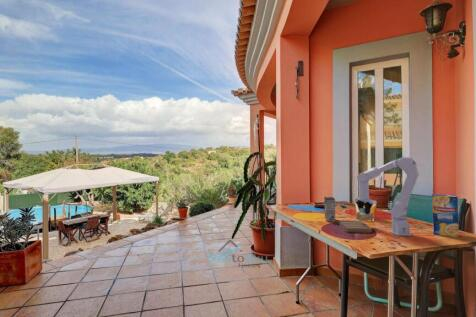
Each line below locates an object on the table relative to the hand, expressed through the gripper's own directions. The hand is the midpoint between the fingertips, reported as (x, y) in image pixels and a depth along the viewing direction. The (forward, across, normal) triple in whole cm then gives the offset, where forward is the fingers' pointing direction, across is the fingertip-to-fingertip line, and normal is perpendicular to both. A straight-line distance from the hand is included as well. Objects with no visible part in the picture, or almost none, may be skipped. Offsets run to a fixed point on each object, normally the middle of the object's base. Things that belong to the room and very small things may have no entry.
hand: (364, 213), depth 161 cm
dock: (+9, 0, +8) cm, 12 cm away
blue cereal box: (+9, -25, -32) cm, 42 cm away
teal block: (0, 0, 0) cm, 1 cm away
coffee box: (+9, +24, +9) cm, 28 cm away
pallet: (+4, 0, 0) cm, 4 cm away
